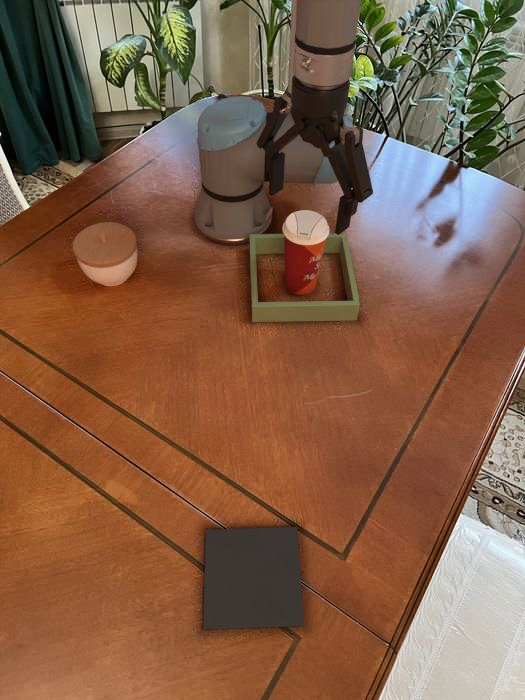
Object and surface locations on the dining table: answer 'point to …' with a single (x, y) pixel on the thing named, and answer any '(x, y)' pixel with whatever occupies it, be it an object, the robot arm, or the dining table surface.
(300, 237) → the paper cup
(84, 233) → the trinket box
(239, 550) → the mat
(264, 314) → the square frame
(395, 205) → the dining table surface
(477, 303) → the dining table surface
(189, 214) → the dining table surface
